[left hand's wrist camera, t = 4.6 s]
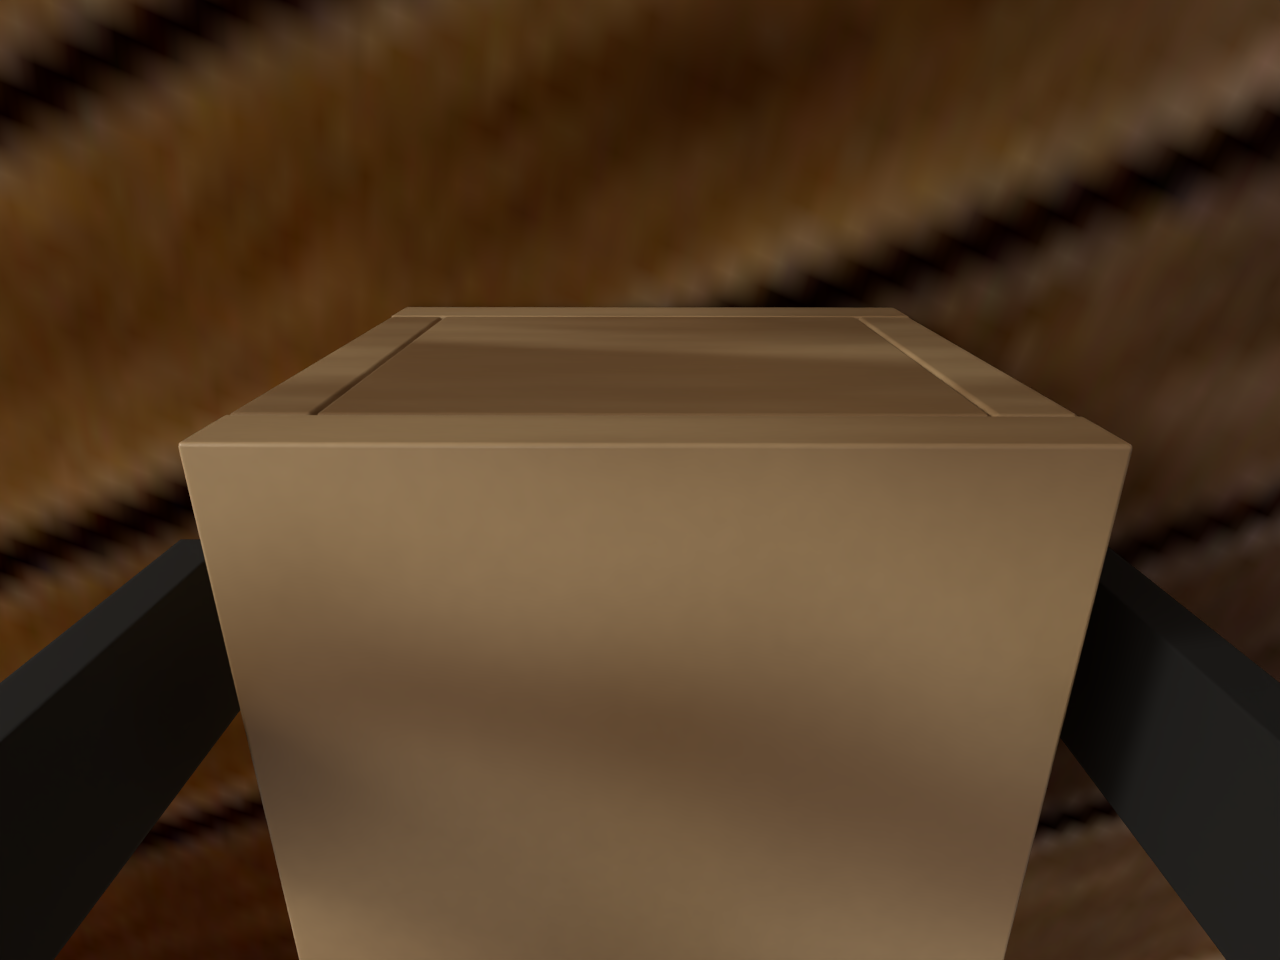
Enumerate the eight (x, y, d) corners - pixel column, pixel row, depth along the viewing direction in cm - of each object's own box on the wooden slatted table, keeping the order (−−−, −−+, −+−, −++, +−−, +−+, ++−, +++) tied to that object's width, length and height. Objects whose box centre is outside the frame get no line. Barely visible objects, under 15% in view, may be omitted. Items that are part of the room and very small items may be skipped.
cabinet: (809, 1007, 24) (889, 1418, 16) (483, 1006, 24) (405, 1414, 16) (894, 307, 16) (1136, 444, 8) (405, 306, 16) (174, 442, 8)
